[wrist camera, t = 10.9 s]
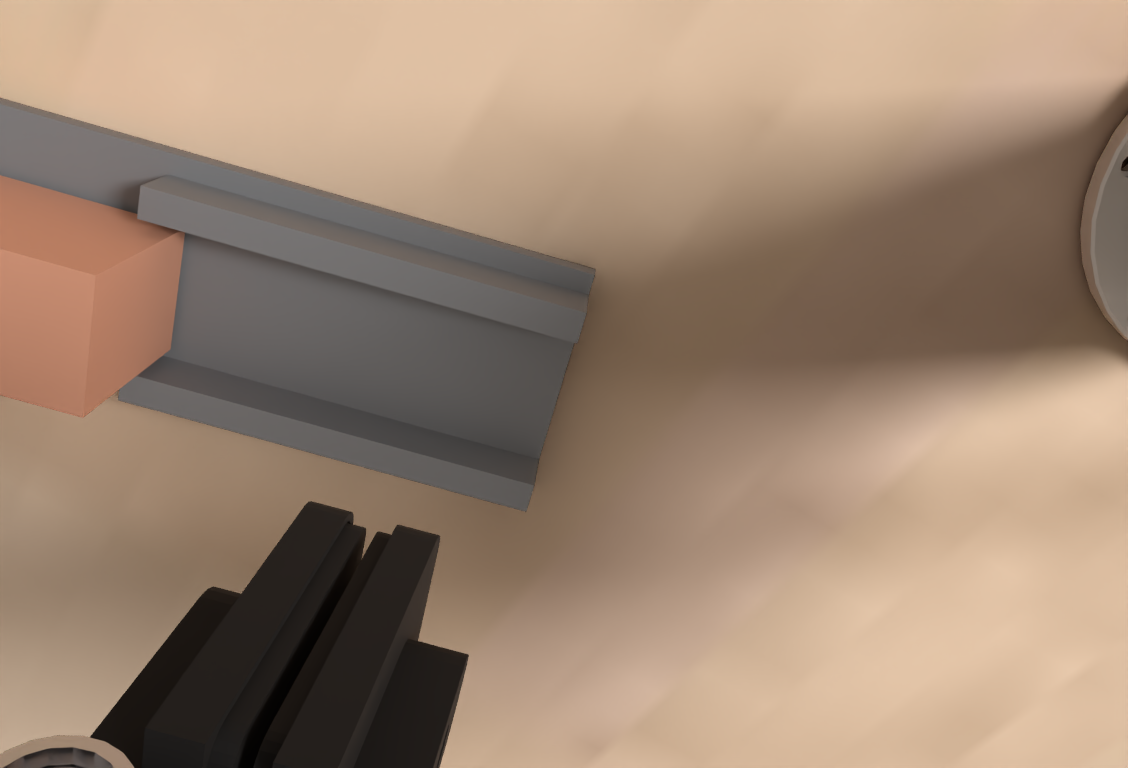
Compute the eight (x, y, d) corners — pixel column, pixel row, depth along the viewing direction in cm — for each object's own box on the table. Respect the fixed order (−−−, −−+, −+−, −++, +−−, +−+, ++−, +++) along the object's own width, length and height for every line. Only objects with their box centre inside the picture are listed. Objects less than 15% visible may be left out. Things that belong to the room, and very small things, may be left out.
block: (185, 227, 35) (95, 275, 29) (170, 349, 37) (82, 417, 31) (-29, 166, 35) (-166, 202, 29) (-34, 292, 37) (-162, 350, 31)
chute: (595, 269, 36) (593, 291, 33) (528, 491, 40) (521, 529, 37) (-143, 56, 35) (-210, 62, 32) (-141, 308, 38) (-200, 332, 36)
